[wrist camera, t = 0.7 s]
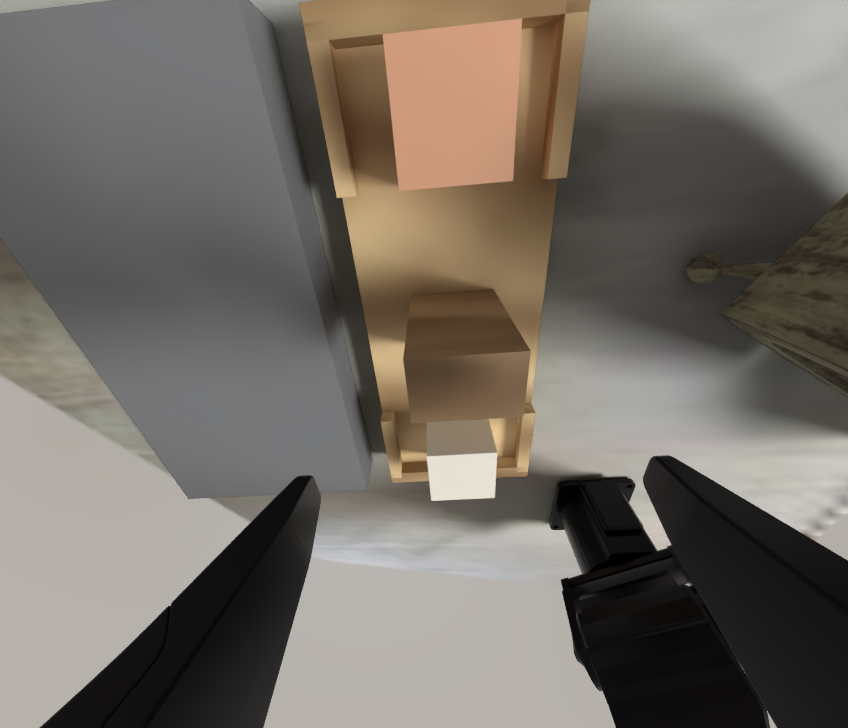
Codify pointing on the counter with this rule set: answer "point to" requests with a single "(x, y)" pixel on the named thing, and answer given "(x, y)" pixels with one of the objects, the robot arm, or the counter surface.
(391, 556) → the counter surface
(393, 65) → the block
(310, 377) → the grey flat slab
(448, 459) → the block
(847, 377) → the tabletop clock
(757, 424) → the counter surface
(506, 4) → the tray
